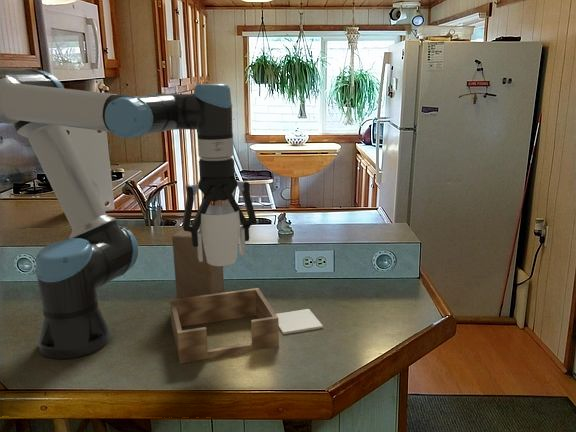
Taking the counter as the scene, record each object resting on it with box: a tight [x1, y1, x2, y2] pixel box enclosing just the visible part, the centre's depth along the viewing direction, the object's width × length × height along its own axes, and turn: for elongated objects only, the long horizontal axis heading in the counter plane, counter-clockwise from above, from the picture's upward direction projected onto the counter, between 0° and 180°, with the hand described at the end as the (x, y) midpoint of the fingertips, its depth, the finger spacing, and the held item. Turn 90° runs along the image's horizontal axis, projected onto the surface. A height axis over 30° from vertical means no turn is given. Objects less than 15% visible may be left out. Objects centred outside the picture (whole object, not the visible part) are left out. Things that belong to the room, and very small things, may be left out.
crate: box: [169, 287, 280, 364], centre depth 122 cm, size 22×18×7 cm
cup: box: [200, 204, 241, 267], centre depth 117 cm, size 9×9×12 cm
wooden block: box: [171, 227, 225, 299], centre depth 139 cm, size 10×10×20 cm
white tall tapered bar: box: [64, 126, 116, 212], centre depth 235 cm, size 20×14×40 cm
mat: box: [275, 308, 324, 335], centre depth 129 cm, size 10×10×1 cm
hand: (221, 257), depth 118 cm, fingers closed on cup, 9 cm apart
